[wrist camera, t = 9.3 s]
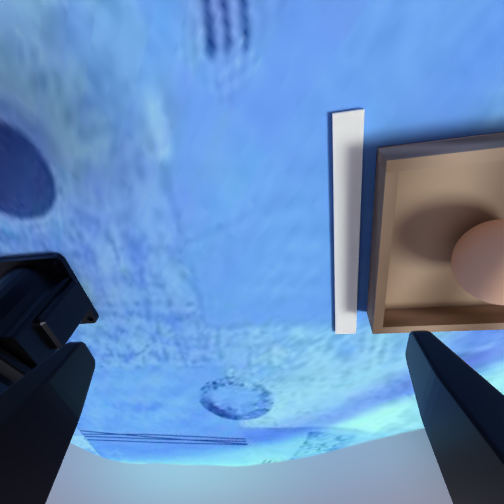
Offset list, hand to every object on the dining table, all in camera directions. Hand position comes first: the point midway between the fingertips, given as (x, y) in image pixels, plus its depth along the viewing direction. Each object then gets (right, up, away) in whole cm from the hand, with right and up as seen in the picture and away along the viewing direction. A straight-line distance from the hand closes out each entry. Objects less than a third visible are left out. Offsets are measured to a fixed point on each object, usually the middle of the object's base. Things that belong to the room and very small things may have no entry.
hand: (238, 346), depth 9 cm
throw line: (+6, +3, +11) cm, 13 cm away
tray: (+14, +4, +10) cm, 18 cm away
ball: (+14, +3, +10) cm, 17 cm away
